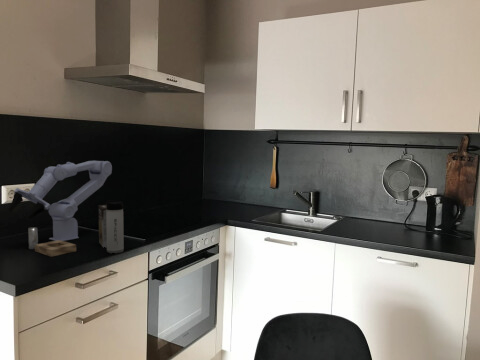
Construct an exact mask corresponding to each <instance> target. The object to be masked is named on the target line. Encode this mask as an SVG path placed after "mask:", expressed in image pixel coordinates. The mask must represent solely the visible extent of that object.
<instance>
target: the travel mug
mask: <svg viewBox="0 0 480 360" xmlns="http://www.w3.org/2000/svg"><path fill="white" fill-rule="evenodd" d="M105 205H106V207H107V208H106V227H107V247H106V252H107V253H108V254H112V253H115V254H121V253H123V252H124V249H125V247H124V245H125V244H124V234H125V233H124V203H123V202H122V201H121V200H111V199H108V200H105Z"/></svg>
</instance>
